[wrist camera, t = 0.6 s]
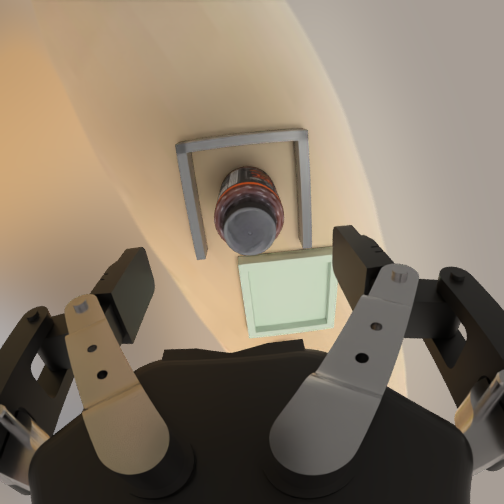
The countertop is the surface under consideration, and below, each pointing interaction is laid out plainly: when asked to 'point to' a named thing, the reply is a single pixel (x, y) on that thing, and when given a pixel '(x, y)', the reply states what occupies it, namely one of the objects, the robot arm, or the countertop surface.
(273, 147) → the countertop surface
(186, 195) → the holder
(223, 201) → the supplement bottle
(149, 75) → the countertop surface
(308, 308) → the tray
